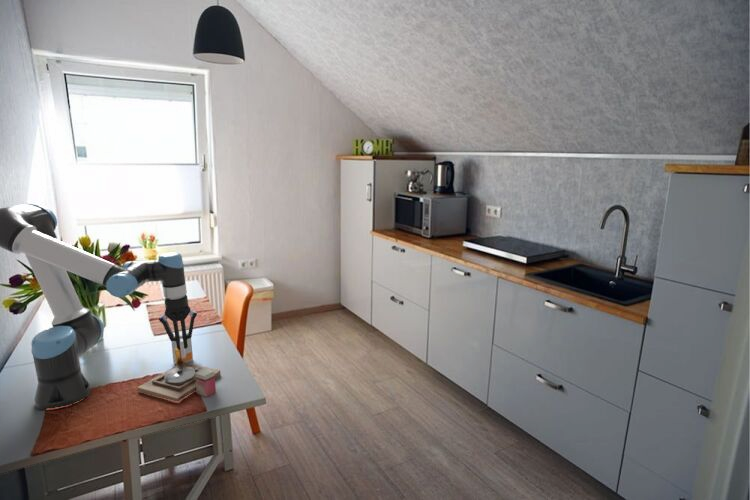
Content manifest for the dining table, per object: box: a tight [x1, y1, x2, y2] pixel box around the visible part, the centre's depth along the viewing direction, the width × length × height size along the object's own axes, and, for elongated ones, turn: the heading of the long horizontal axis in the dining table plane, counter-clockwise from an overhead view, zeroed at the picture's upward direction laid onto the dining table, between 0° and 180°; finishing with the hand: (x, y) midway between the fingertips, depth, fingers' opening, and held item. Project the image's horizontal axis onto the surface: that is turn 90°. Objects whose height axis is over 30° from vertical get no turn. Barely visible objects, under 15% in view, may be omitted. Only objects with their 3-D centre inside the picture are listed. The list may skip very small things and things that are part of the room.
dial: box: [164, 348, 195, 386], centre depth 155 cm, size 14×10×8 cm
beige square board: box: [137, 362, 221, 401], centre depth 155 cm, size 20×18×3 cm
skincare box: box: [170, 330, 194, 365], centre depth 170 cm, size 6×4×12 cm
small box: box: [195, 367, 217, 398], centre depth 148 cm, size 5×4×8 cm
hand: (183, 356), depth 161 cm, fingers closed
